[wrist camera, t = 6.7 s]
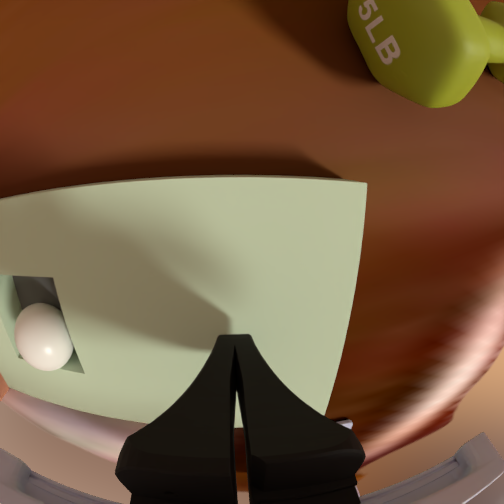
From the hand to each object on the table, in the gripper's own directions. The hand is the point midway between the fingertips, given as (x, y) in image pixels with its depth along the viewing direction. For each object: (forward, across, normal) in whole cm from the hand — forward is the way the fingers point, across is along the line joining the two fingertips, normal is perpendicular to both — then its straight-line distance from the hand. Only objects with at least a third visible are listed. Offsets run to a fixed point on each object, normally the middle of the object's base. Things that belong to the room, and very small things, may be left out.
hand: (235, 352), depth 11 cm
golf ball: (+1, +11, +1) cm, 11 cm away
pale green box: (+3, +7, 0) cm, 8 cm away
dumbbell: (+4, -14, -17) cm, 22 cm away
